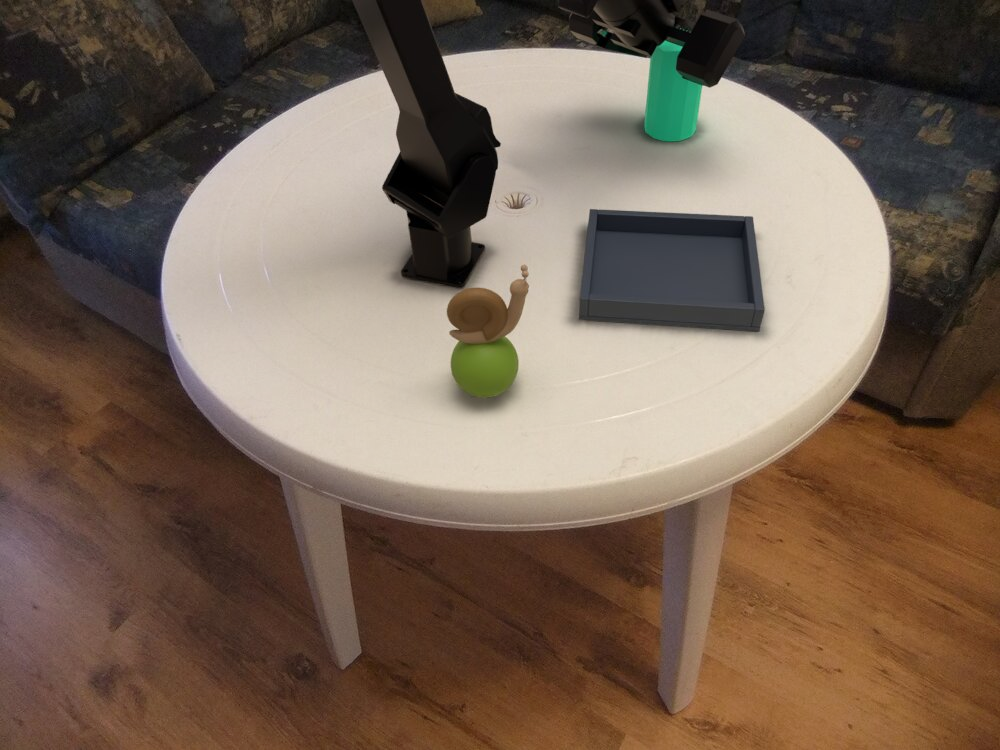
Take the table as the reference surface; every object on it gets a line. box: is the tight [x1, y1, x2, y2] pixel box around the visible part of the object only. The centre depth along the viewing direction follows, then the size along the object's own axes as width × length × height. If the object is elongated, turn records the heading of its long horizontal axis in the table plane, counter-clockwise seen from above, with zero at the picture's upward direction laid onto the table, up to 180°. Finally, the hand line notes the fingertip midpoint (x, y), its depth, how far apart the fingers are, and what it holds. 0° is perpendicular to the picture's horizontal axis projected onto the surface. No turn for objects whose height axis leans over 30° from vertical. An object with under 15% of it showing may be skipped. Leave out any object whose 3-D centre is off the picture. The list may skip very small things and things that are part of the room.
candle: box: [643, 28, 703, 142], centre depth 89 cm, size 6×6×12 cm
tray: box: [578, 208, 766, 332], centre depth 73 cm, size 16×14×2 cm
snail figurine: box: [446, 264, 530, 398], centre depth 61 cm, size 5×6×12 cm
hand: (680, 65), depth 88 cm, fingers open, 9 cm apart
